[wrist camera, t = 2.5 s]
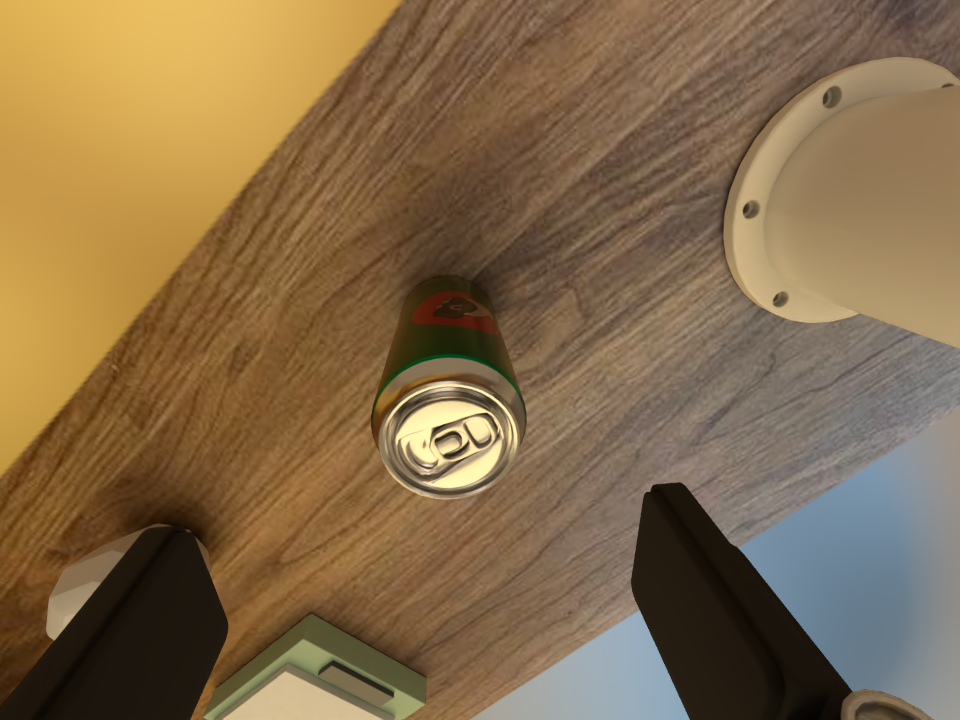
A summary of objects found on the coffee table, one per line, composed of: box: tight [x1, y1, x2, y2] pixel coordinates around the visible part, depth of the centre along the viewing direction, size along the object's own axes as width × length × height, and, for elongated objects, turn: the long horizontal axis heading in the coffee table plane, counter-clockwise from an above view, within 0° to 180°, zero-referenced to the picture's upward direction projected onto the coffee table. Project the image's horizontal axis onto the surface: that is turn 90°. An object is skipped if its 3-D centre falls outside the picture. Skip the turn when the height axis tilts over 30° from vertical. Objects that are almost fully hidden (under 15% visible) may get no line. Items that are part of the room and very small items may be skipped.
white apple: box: [46, 524, 211, 641], centre depth 26 cm, size 8×8×7 cm
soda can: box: [371, 276, 527, 499], centre depth 19 cm, size 5×5×12 cm
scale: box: [203, 614, 427, 720], centre depth 35 cm, size 12×12×3 cm
